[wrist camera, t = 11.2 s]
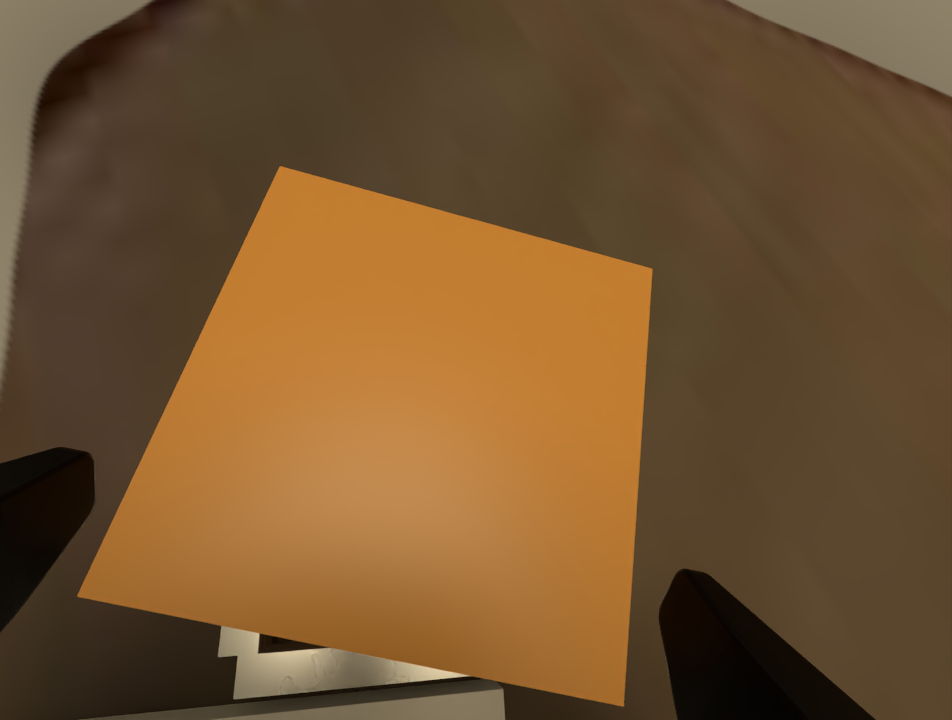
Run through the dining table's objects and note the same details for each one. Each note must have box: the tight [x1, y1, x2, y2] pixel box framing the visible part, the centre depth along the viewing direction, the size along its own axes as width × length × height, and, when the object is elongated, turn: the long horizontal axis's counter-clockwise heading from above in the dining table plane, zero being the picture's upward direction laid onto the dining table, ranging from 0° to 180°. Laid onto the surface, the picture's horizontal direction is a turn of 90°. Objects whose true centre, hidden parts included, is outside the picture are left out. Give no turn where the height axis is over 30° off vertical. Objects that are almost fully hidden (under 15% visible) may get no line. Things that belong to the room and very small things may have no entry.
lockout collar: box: [218, 626, 469, 699], centre depth 16 cm, size 10×10×2 cm
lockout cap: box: [77, 166, 652, 707], centre depth 11 cm, size 5×5×13 cm
